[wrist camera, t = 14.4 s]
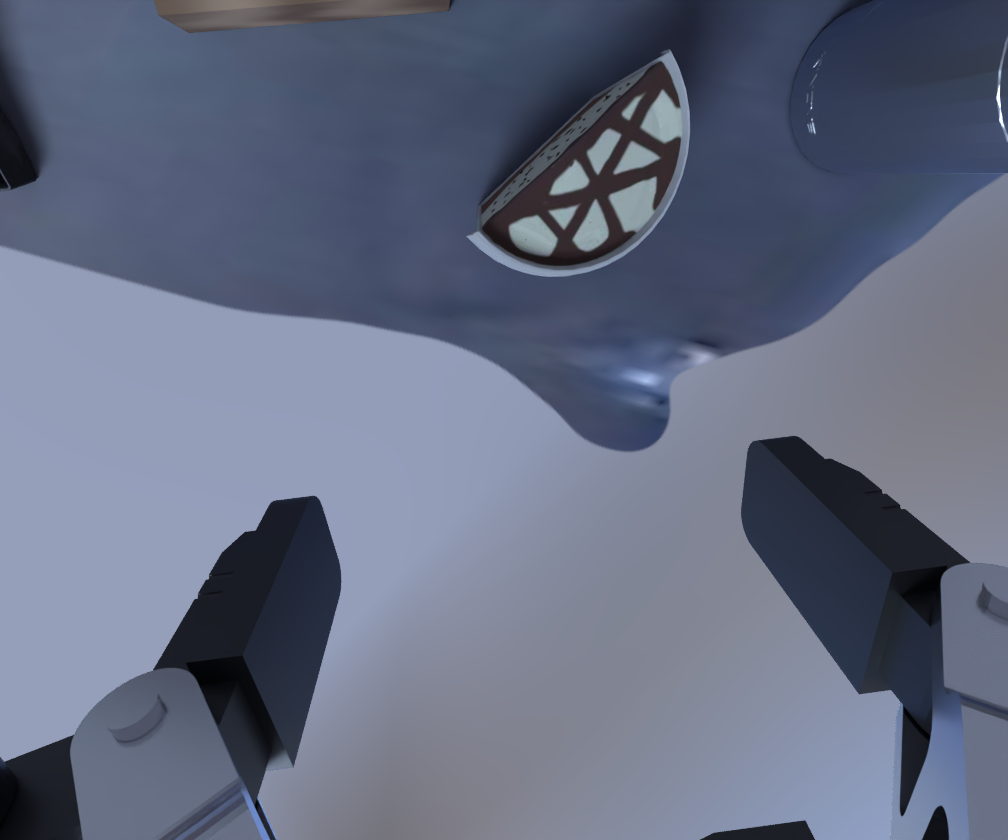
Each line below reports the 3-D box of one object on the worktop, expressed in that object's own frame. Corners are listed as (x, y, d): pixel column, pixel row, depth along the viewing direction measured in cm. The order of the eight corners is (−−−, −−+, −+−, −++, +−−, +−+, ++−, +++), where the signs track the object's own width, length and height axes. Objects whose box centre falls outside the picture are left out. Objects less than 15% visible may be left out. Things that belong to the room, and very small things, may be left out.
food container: (521, 295, 38) (549, 334, 28) (459, 223, 35) (468, 240, 26) (668, 164, 35) (750, 160, 26) (612, 77, 33) (680, 41, 24)
